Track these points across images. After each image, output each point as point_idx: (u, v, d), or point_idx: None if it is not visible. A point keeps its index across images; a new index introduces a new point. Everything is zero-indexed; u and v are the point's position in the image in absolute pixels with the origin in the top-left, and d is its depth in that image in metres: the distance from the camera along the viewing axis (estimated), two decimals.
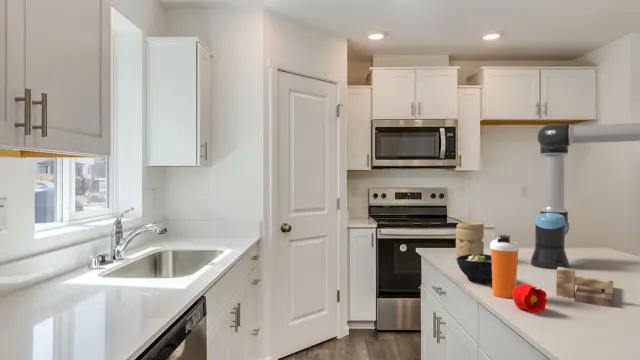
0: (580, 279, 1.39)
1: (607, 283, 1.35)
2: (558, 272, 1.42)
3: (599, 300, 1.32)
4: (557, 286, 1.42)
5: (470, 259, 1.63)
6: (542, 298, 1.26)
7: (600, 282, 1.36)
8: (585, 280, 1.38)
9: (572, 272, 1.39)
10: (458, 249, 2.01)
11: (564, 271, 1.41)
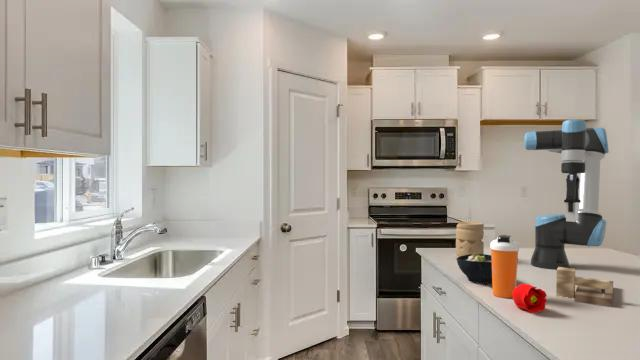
0: (580, 279, 1.39)
1: (607, 283, 1.35)
2: (558, 272, 1.42)
3: (599, 300, 1.32)
4: (557, 286, 1.42)
5: (470, 259, 1.63)
6: (542, 298, 1.26)
7: (600, 282, 1.36)
8: (585, 280, 1.38)
9: (572, 272, 1.39)
10: (458, 249, 2.01)
11: (564, 271, 1.41)
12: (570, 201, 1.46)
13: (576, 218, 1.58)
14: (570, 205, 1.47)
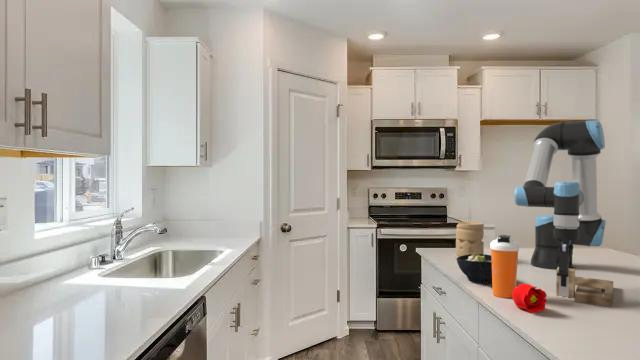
0: (580, 279, 1.39)
1: (607, 283, 1.35)
2: None
3: (599, 300, 1.32)
4: (557, 286, 1.42)
5: (470, 259, 1.63)
6: (542, 298, 1.26)
7: (600, 282, 1.36)
8: (585, 280, 1.38)
9: (572, 272, 1.39)
10: (458, 249, 2.01)
11: None
12: (563, 275, 1.36)
13: None
14: (563, 279, 1.36)
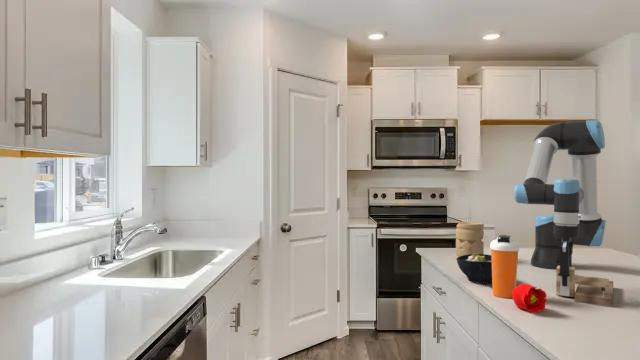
0: (580, 278, 1.39)
1: (607, 282, 1.35)
2: (558, 271, 1.42)
3: (599, 300, 1.32)
4: (557, 285, 1.42)
5: (470, 259, 1.63)
6: (542, 298, 1.26)
7: (600, 280, 1.36)
8: (585, 279, 1.38)
9: (572, 271, 1.39)
10: (458, 249, 2.01)
11: None
12: (564, 275, 1.38)
13: None
14: (564, 279, 1.39)
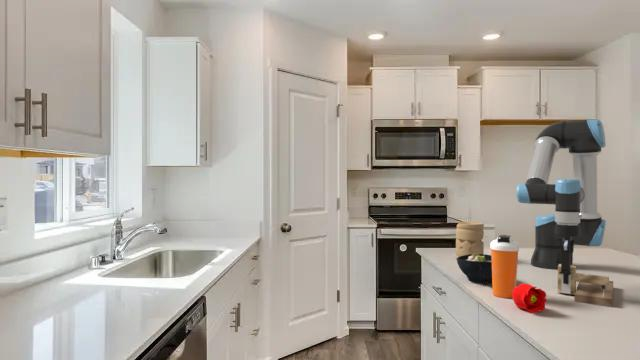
0: (581, 275, 1.42)
1: (607, 279, 1.38)
2: (559, 269, 1.45)
3: (599, 300, 1.32)
4: (558, 282, 1.45)
5: (470, 259, 1.63)
6: (542, 298, 1.26)
7: (600, 278, 1.39)
8: (586, 276, 1.41)
9: (573, 269, 1.42)
10: (458, 249, 2.01)
11: None
12: (565, 273, 1.41)
13: None
14: (565, 277, 1.42)
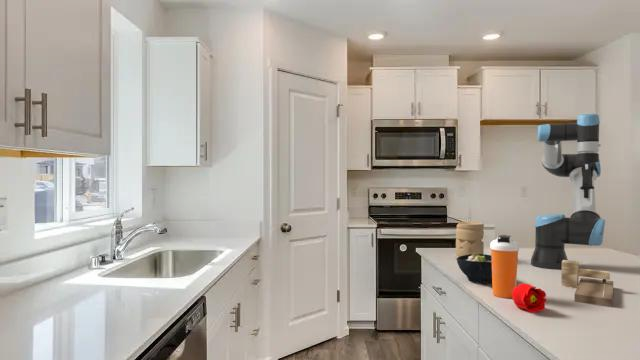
0: (583, 270, 1.52)
1: (608, 274, 1.48)
2: (563, 264, 1.55)
3: (599, 300, 1.32)
4: (562, 277, 1.55)
5: (470, 259, 1.63)
6: (542, 298, 1.26)
7: (601, 273, 1.49)
8: (588, 271, 1.51)
9: (576, 264, 1.52)
10: (458, 249, 2.01)
11: (569, 263, 1.54)
12: (586, 188, 1.63)
13: (590, 203, 1.75)
14: (586, 192, 1.63)
